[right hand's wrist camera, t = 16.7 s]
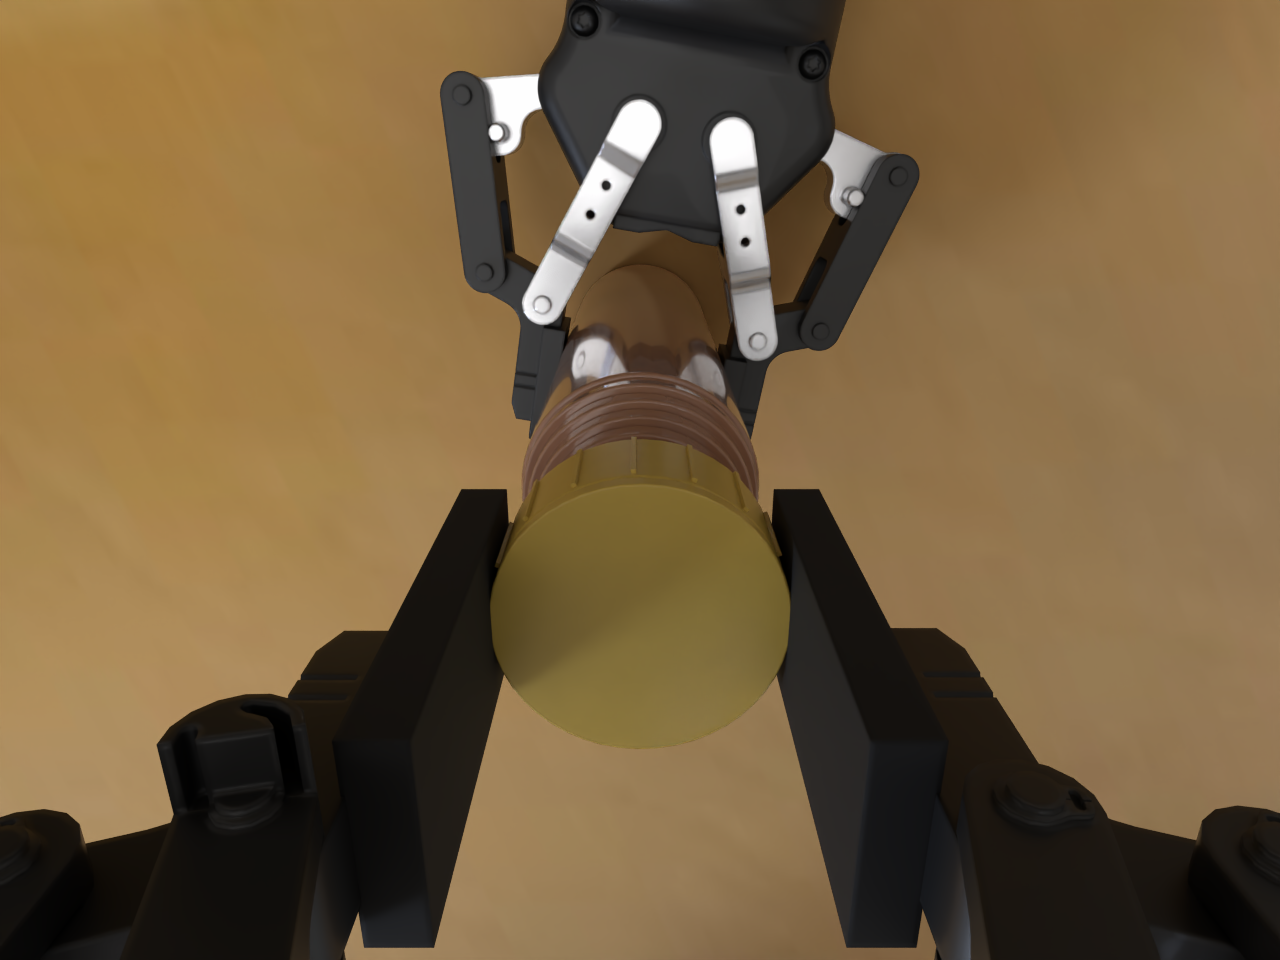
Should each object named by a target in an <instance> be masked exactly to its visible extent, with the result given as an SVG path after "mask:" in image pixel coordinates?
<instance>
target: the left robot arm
mask: <svg viewBox="0 0 1280 960" xmlns="http://www.w3.org/2000/svg"><path fill="white" fill-rule="evenodd" d="M845 2H846V0H567V3H566V12H565V19H564V24H563V28H562V31H561V34H560V37H559V39H558V41H557V43H556V45H555V47H554V49H553V50H552V52H551V53H550V55H549V56H548V57H547V59H546V60H545V62H544V64H543V65H542V68H541V70H540V73H539V74H529V75H515V76H501V77H487V78H480V77H478V76H476V75H473V74H471V73H468V72H465V71H456V72H453V73H451V74H449V75H448V76H447V77H446V78H445V79H444V81H443V83H442V85H441V89H440V97H441V105H442V112H443V120H444V127H445V135H446V142H447V149H448V157H449V164H450V172H451V179H452V186H453V194H454V201H455V209H456V216H457V223H458V231H459V238H460V246H461V253H462V261H463V268H464V275H465V278H466V281H467V282H468V284H469V285H470V286H471V287H472V288H473V289H474V290H476V291H478V292H481V293H489V294H491V295H493V296H495V297H496V298H498V299H500V300H502V301H504V302H505V303H507V304H508V305H510V306H511V307H512V308H513V309H514V310H515V311H516V313H517V315H518V317H519V320H520V325H521V330H520V338H519V347H518V355H517V363H516V372H515V379H514V388H513V396H512V405H513V409H514V413H515V416H516V419H523V420H529V421H531V423H530V431H529V439H531V437H532V434H533V431H534V429H535V426H536V423H537V421H538V418H539V415H540V413H541V410H542V407H543V404H544V402H545V399H546V396H547V394H548V391H549V388H550V386H551V383H552V380H553V378H554V375H555V372H556V369H557V367H558V364H559V361H560V359H561V356H562V353H563V351H564V348H565V345H566V342H567V340H568V335H569V328H570V321H571V318H569V317H565V311H566V304H567V301H568V300H569V298H570V296H571V294H572V292H573V291H574V289H575V287H576V285H577V283H578V281H579V280H580V278H581V276H582V274H583V272H584V270H585V269H586V267H587V265H588V263H589V262H590V260H591V258H592V256H593V254H594V253H595V251H596V249H597V247H598V245H599V243H600V242H601V240H602V238H603V236H604V234H605V232H606V231H607V229H608V227H609V225H610V224H612V225H613V228H615V229H621V230H627V231H632V232H638V233H641V232H651V231H661V230H668V231H670V232H672V233H674V234H676V235H679V236H681V237H683V238H685V239H687V240H689V241H691V242H695V243H700V244H706V245H712V246H717V252H718V259H719V265H720V270H721V274H722V279H723V284H724V291H725V297H726V304H727V310H728V317H729V323H730V330H729V334H728V339H727V344H726V345H724V344H719V348H718V354H719V357H720V360H721V362H722V365H723V368H724V370H725V373H726V376H727V378H728V381H729V384H730V387H731V389H732V392H733V395H734V397H735V400H736V403H737V405H738V408H739V411H740V413H741V416H742V419H743V421H744V424H745V427H746V429H747V432H748V435H749V438H750V440H751V436H752V432H753V427H754V423H755V418H756V413H757V410H758V405H759V401H760V396H761V392H762V387H763V383H764V379H765V374H766V370H767V368H768V366H769V364H770V362H771V361H772V360H773V359H774V358H775V357H776V356H778V355H780V354H782V353H784V352H788V351H794V350H799V349H805V348H810V349H812V350H816V351H822V350H826V349H828V348H830V347H831V346H833V345H834V344H835V343H836V341H837V340H838V338H839V336H840V334H841V332H842V330H843V328H844V326H845V324H846V322H847V320H848V318H849V316H850V314H851V313H852V311H853V309H854V307H855V305H856V303H857V301H858V299H859V297H860V295H861V293H862V291H863V289H864V287H865V285H866V283H867V281H868V279H869V277H870V275H871V273H872V271H873V269H874V268H875V266H876V264H877V262H878V260H879V258H880V256H881V254H882V252H883V250H884V248H885V246H886V244H887V242H888V240H889V238H890V236H891V234H892V232H893V230H894V228H895V226H896V225H897V223H898V221H899V219H900V217H901V215H902V213H903V211H904V209H905V207H906V205H907V203H908V201H909V199H910V197H911V195H912V193H913V191H914V189H915V187H916V185H917V183H918V180H919V168H918V165H917V163H916V162H915V160H914V159H913V158H911V157H910V156H908V155H905V154H900V153H895V152H882V151H880V150H878V149H876V148H874V147H872V146H870V145H868V144H866V143H863V142H861V141H859V140H857V139H855V138H853V137H851V136H849V135H847V134H844V133H842V132H840V131H838V130H836V129H835V117H834V113H833V109H832V106H831V101H830V95H829V75H830V69H831V64H832V59H833V55H834V50H835V46H836V42H837V37H838V33H839V28H840V24H841V19H842V15H843V10H844V6H845ZM542 110H543V112H544V114H545V116H546V118H547V120H548V122H549V124H550V126H551V128H552V130H553V132H554V134H555V136H556V138H557V140H558V142H559V144H560V146H561V149H562V151H563V153H564V155H565V157H566V159H567V161H568V163H569V165H570V167H571V169H572V171H573V173H574V175H575V177H576V179H577V181H578V183H579V185H580V189H579V190H578V192H577V194H576V196H575V198H574V200H573V202H572V204H571V206H570V207H569V209H568V211H567V213H566V215H565V217H564V219H563V221H562V223H561V225H560V226H559V228H558V230H557V232H556V234H555V236H554V238H553V240H552V243H551V245H550V247H549V249H548V251H547V252H546V254H545V256H544V258H543V260H542V262H541V264H540V266H539V267H538V266H536V265H535V264H533V263H531V262H529V261H527V260H526V259H524V258H522V257H520V256H519V255H517V254H515V247H514V239H513V230H512V221H511V212H510V203H509V194H508V186H507V177H506V168H505V159H504V155H510V154H513V153H515V152H517V151H518V150H519V149H520V148H521V146H522V145H523V142H524V139H525V128H526V124H527V122H528V120H529V118H530V117H531V116H532V115H533V114H535V113H536V112H539V111H542ZM818 163H821V164H822V166H823V167H824V169H825V171H826V174H827V185H826V188H825V191H824V202H825V205H826V207H827V208H828V209H829V211H831V212H832V213H834V214H835V216H834V218H833V220H832V222H831V224H830V226H829V228H828V231H827V233H826V235H825V237H824V239H823V241H822V243H821V245H820V247H819V249H818V251H817V253H816V255H815V257H814V259H813V261H812V264H811V266H810V268H809V270H808V272H807V274H806V276H805V278H804V280H803V282H802V284H801V286H800V288H799V290H798V292H797V294H796V297H795V299H794V301H793V302H791V303H785V304H780V305H774V306H773V299H772V292H771V283H770V281H771V269H770V261H769V254H768V246H767V239H766V231H765V224H764V215H765V214H766V213H767V212H768V211H769V210H770V209H771V208H772V207H773V206H774V205H775V204H776V203H777V202H778V201H780V200H781V199H782V198H783V197H784V196H785V195H786V194H787V193H788V192H789V191H790V190H791V189H792V188H793V187H794V186H795V185H796V184H797V183H798V182H799V181H800V180H801V179H802V178H803V177H804V176H805V175H806V174H807V173H808V172H809V171H810V170H811V169H812V168H814V167H815V166H816V165H817V164H818Z"/></svg>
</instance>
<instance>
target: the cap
mask: <svg viewBox="0 0 1280 960" xmlns="http://www.w3.org/2000/svg"><path fill="white" fill-rule="evenodd" d="M779 556H782V553H781V550H780V547H779V544H778V541H777V538H776V535H775V533H774V530H773V527H772V524H771V521H770V518H769V515H768V513H767V512H764V513H763V511H762V509H761V507H760V505H759V504H758V502H757V500H756V499H755V497H754V496H753V494H752V493H751V491H750V490H749V489H748V488H747V487H746V486H745V484H744V483H743V482H742V481H741V480H740V477H739V473H737V472H736V471H734V472H733V473H732V472H731V471H730V470H729V469H728V468H727V467H725V466H724V465H722V464H721V463H719V462H718V461H716V460H715V459H713V458H711V457H709V456H707V455H705V454H703V453H701V452H699V451H697V450H694V449H693V448H692V445H689V444H687V446H683V445H680V444H676V443H672V442H666V441H660V440H648V439H637V437H631V440H620V441H616V442H610V443H605V444H602V445H598V446H595V447H592V448H589V449H587V450H584V451H583V450H582V449H579V450H577V453H576V454H575V455H573V456H571V457H570V458H568V459H567V460H565V461H563V462H562V463H560V464H558V465H557V466H556V467H555V468H553V469H552V470H551V471H550V472H548V473H547V474H546V475H545V476H544V477H543V478H542V479H541V480H540V481H539V480H538V479H536V480H535V481H534V483H533V486H532V490H531V491H530V493H529V494H528V496H527V497H526V499H525V500H524V501H523V503H522V505H521V507H520V509H519V511H518V513H517V515H516V517H515V520H514V523H511V522H510V523H509V526H508V529H507V531H506V534H505V537H504V540H503V543H502V546H501V549H500V552H499V555H498V558H497V561H496V563H495V567H496V568H498V571H497V574H496V577H495V580H494V583H493V586H492V591H491V597H490V612H491V626H492V640H493V648H494V652H495V655H496V658H497V660H498V662H499V665H500V667H501V669H502V671H503V673H504V675H505V676H506V678H507V680H508V681H509V683H510V684H511V686H512V687H513V689H514V690H515V691H516V692H517V693H518V695H519V696H520V697H521V698H522V700H523V701H524V702H525V703H526V704H528V705H529V706H530V707H531V708H532V709H533V710H534V711H535V712H536V713H537V714H539V715H540V716H541V717H543V718H544V719H546V720H547V721H548V722H550V723H551V724H553V725H555V726H556V727H558V728H560V729H562V730H564V731H565V732H567V733H570V734H572V735H574V736H577V737H579V738H582V739H584V740H588V741H591V742H594V743H598V744H602V745H607V746H613V747H618V748H631V749H650V748H662V747H668V746H675V745H679V744H683V743H687V742H690V741H694V740H696V739H699V738H702V737H704V736H707V735H709V734H711V733H713V732H715V731H717V730H719V729H721V728H723V727H725V726H727V725H728V724H730V723H731V722H732V721H734V720H735V719H737V718H738V717H740V716H741V715H742V714H743V713H745V712H746V711H747V710H748V709H749V708H750V707H752V706H753V705H754V704H755V703H756V702H757V700H758V699H759V698H760V697H761V696H762V695H763V694H764V693H765V691H766V690H767V689H768V687H769V686H770V684H771V683H772V681H773V680H774V678H775V677H776V675H777V673H778V671H779V669H780V667H781V665H782V663H783V661H784V658H785V655H786V652H787V646H788V634H789V620H790V605H791V596H790V590H789V587H788V583H787V580H786V576H785V573H784V570H783V567H782V564H781V561H780V558H779Z"/></svg>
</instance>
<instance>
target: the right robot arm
mask: <svg viewBox="0 0 1280 960" xmlns="http://www.w3.org/2000/svg"><path fill="white" fill-rule="evenodd" d="M508 526H509V520H508V503H507V489H461V491H460V493H459V495H458V497H457V499H456V501H455V503H454V505H453V507H452V509H451V511H450V513H449V515H448V516H447V518H446V520H445V522H444V524H443V526H442V528H441V530H440V532H439V534H438V536H437V538H436V540H435V542H434V544H433V546H432V548H431V549H430V551H429V553H428V555H427V557H426V559H425V561H424V563H423V565H422V567H421V569H420V571H419V573H418V575H417V577H416V579H415V580H414V582H413V584H412V586H411V588H410V590H409V592H408V594H407V596H406V598H405V600H404V602H403V604H402V606H401V608H400V610H399V611H398V613H397V615H396V617H395V619H394V621H393V623H392V625H391V627H390V629H389V631H343V632H342V633H341V634H339V635H338V636H337V637H335V638H334V639H332V640H331V641H330V642H328V643H327V644H326V645H324V646H323V647H322V648H320V649H319V650H317V651H316V652H315V654H314V656H313V657H312V659H311V660H310V662H309V663H308V665H307V667H306V668H305V670H304V671H303V673H302V674H301V680H298V681H297V682H296V684H295V685H294V687H293V688H292V690H291V692H290V693H289V695H288V698H285V697H281V696H277V695H273V694H245V695H241V696H236V697H232V698H227V699H223V700H218V701H216V702H213V703H211V704H209V705H206V706H204V707H202V708H199V709H197V710H195V711H192V712H191V713H189V714H188V715H186V716H185V717H184V718H182V719H181V720H179V721H178V722H177V723H175V724H174V725H172V726H171V727H170V728H169V729H168V730H167V732H166V733H165V734H164V736H163V737H162V738H161V739H160V741H159V742H158V743H157V748H158V752H159V756H160V760H161V765H162V769H163V773H164V777H165V781H166V785H167V789H168V793H169V797H170V801H171V805H172V809H173V813H174V815H173V818H172V821H171V823H168V824H165V825H161V826H158V827H155V828H151V829H148V830H144V831H140V832H135V833H131V834H126V835H122V836H117V837H113V838H109V839H104V840H100V841H95V842H91V843H86V844H85V841H84V838H83V834H82V831H81V828H80V824H79V823H78V822H76V821H75V820H74V819H73V818H72V817H71V816H70V815H68V814H67V813H63V812H58V811H52V810H46V809H41V810H33V811H24V812H16V813H12V814H9V815H6V816H3V817H0V960H346V958H345V953H344V949H345V947H346V944H347V941H348V938H349V936H350V933H351V930H352V927H353V925H354V922H355V919H356V917H357V914H358V912H359V918H360V924H361V931H362V937H363V944H364V948H434V945H435V942H436V938H437V934H438V930H439V926H440V922H441V918H442V914H443V910H444V906H445V902H446V899H447V895H448V891H449V887H450V883H451V879H452V875H453V871H454V867H455V863H456V860H457V856H458V852H459V848H460V844H461V840H462V836H463V832H464V828H465V824H466V820H467V817H468V813H469V809H470V805H471V801H472V797H473V793H474V789H475V785H476V781H477V778H478V774H479V770H480V766H481V762H482V758H483V754H484V750H485V746H486V742H487V738H488V735H489V731H490V727H491V723H492V719H493V715H494V711H495V707H496V703H497V699H498V695H499V692H500V688H501V684H502V680H503V676H504V673H503V671H502V669H501V667H500V665H499V662H498V660H497V658H496V655H495V652H494V648H493V640H492V626H491V612H490V597H491V591H492V586H493V583H494V580H495V577H496V574H497V571H498V568H496V567H495V563H496V561H497V558H498V555H499V552H500V549H501V546H502V543H503V540H504V537H505V534H506V531H507V529H508ZM772 527H773V530H774V533H775V535H776V538H777V541H778V544H779V547H780V550H781V553H782V556H779V558H780V561H781V564H782V567H783V570H784V573H785V576H786V580H787V583H788V587H789V590H790V596H791V605H790V620H789V634H788V646H787V652H786V655H785V658H784V661H783V663H782V665H781V667H780V669H779V671H778V673H777V678H778V682H779V686H780V690H781V693H782V697H783V701H784V705H785V709H786V713H787V717H788V721H789V725H790V729H791V733H792V736H793V740H794V744H795V748H796V752H797V756H798V760H799V764H800V768H801V772H802V775H803V779H804V783H805V787H806V791H807V795H808V799H809V803H810V807H811V811H812V814H813V818H814V822H815V826H816V830H817V834H818V838H819V842H820V846H821V850H822V854H823V857H824V861H825V865H826V869H827V873H828V877H829V881H830V885H831V889H832V893H833V896H834V900H835V904H836V908H837V912H838V916H839V920H840V924H841V928H842V932H843V936H844V939H845V943H846V947H847V948H916V947H917V941H918V934H919V928H920V922H921V915H922V909H923V911H924V914H925V916H926V919H927V922H928V924H929V927H930V930H931V933H932V935H933V938H934V941H935V943H936V946H937V947H936V953H935V958H934V960H1280V813H1277V812H1274V811H1271V810H1268V809H1262V808H1253V807H1245V806H1233V807H1227V808H1221V809H1215V810H1214V811H1213V812H1212V813H1210V814H1209V815H1208V816H1207V817H1206V818H1205V819H1203V820H1202V823H1201V827H1200V830H1199V833H1198V837H1197V840H1192V839H1188V838H1183V837H1179V836H1174V835H1170V834H1165V833H1161V832H1157V831H1152V830H1148V829H1143V828H1139V827H1135V826H1131V825H1128V824H1124V823H1121V822H1118V821H1114V820H1111V819H1109V818H1108V817H1107V814H1106V812H1105V811H1104V809H1103V808H1102V806H1101V805H1100V803H1099V802H1098V800H1097V799H1096V797H1095V796H1094V794H1092V793H1091V792H1090V791H1089V790H1087V789H1086V788H1085V787H1084V786H1082V785H1081V784H1080V783H1079V782H1077V781H1076V780H1075V779H1074V778H1072V777H1070V776H1068V775H1066V774H1063V773H1061V772H1059V771H1057V770H1055V769H1053V768H1051V767H1049V766H1046V765H1042V764H1039V763H1038V762H1037V760H1036V759H1035V757H1034V756H1033V754H1032V752H1031V751H1030V749H1029V748H1028V746H1027V745H1026V743H1025V742H1024V740H1023V738H1022V737H1021V735H1020V734H1019V732H1018V731H1017V729H1016V728H1015V726H1014V724H1013V723H1012V721H1011V720H1010V718H1009V717H1008V715H1007V714H1006V712H1005V710H1004V709H1003V707H1002V706H1001V704H1000V703H999V701H998V700H997V698H993V692H992V690H991V689H990V687H989V686H988V684H987V682H986V681H985V679H984V678H983V677H980V672H979V670H978V668H977V667H976V665H975V664H974V662H973V661H972V659H971V658H970V656H969V654H968V653H967V651H966V650H965V648H963V647H962V646H960V645H959V644H958V643H956V642H955V641H953V640H952V639H951V638H949V637H948V636H947V635H945V634H944V633H942V632H941V631H940V630H938V629H937V628H890V626H889V624H888V622H887V620H886V618H885V616H884V614H883V612H882V610H881V608H880V606H879V605H878V603H877V601H876V599H875V597H874V595H873V593H872V591H871V589H870V587H869V585H868V583H867V581H866V579H865V577H864V575H863V574H862V572H861V570H860V568H859V566H858V564H857V562H856V560H855V558H854V556H853V554H852V552H851V550H850V548H849V546H848V544H847V543H846V541H845V539H844V537H843V535H842V533H841V531H840V529H839V527H838V525H837V523H836V521H835V519H834V517H833V515H832V513H831V512H830V510H829V508H828V506H827V504H826V502H825V500H824V498H823V496H822V494H821V492H820V490H819V489H774V496H773V512H772Z"/></svg>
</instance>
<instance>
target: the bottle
mask: <svg viewBox="0 0 1280 960" xmlns="http://www.w3.org/2000/svg"><path fill="white" fill-rule="evenodd" d="M631 437H637V439H648V440H660V441H666V442H672V443H676V444H680V445H683V446H687V444H689V445H692V448H693V449H694V450H697V451H699V452H701V453H703V454H705V455H707V456H709V457H711V458H713V459H715V460H716V461H718V462H719V463H721V464H722V465H724V466H725V467H727V468H728V469H729V470H730V471H731V472H732V473H733V472H734V471H736V472H737V473H739V477H740V480H741V481H742V482H743V483H744V484H745V486H746V487H747V488H748V489H749V490H750V491H751V493H752V494H753V496H754V497H755V499H756V500H757V502H758V492H759V471H758V465H757V459H756V455H755V452H754V449H753V446H752V443H751V440H750V438H749V435H748V432H747V429H746V427H745V424H744V421H743V419H742V416H741V413H740V411H739V408H738V405H737V403H736V400H735V397H734V395H733V392H732V389H731V387H730V384H729V381H728V378H727V376H726V373H725V370H724V368H723V365H722V362H721V360H720V357H719V354H718V352H717V349H716V346H715V344H714V341H713V338H712V336H711V333H710V330H709V327H708V325H707V322H706V319H705V317H704V314H703V311H702V309H701V306H700V304H699V302H698V299H697V297H696V296H695V294H694V293H693V291H692V290H691V289H690V287H689V286H688V285H687V284H686V283H685V282H684V281H683V280H682V279H681V278H679V277H678V276H676V275H675V274H673V273H672V272H670V271H668V270H666V269H663V268H660V267H657V266H652V265H643V264H637V265H629V266H624V267H621V268H618V269H615V270H613V271H611V272H609V273H607V274H606V275H604V276H603V277H601V278H600V279H599V280H598V281H597V282H596V283H594V284H593V286H592V287H591V288H590V289H589V290H588V292H587V293H586V295H585V297H584V298H583V300H582V303H581V305H580V307H579V310H578V313H577V315H576V318H575V321H574V324H573V326H572V329H571V332H570V334H569V337H568V340H567V342H566V345H565V348H564V351H563V353H562V356H561V359H560V361H559V364H558V367H557V369H556V372H555V375H554V378H553V380H552V383H551V386H550V388H549V391H548V394H547V396H546V399H545V402H544V404H543V407H542V410H541V413H540V415H539V418H538V421H537V423H536V426H535V429H534V431H533V434H532V437H531V440H530V442H529V445H528V448H527V452H526V455H525V458H524V463H523V470H522V499H523V501H524V500H525V499H526V497H527V496H528V494H529V493H530V491H531V490H532V486H533V483H534V481H535V480H536V479H538V480H539V481H540V480H541V479H542V478H543V477H544V476H545V475H546V474H547V473H548V472H550V471H551V470H552V469H553V468H555V467H556V466H557V465H558V464H560V463H562V462H563V461H565V460H567V459H568V458H570V457H571V456H573V455H575V454H576V453H577V450H579V449H582V450H583V451H584V450H587V449H589V448H592V447H595V446H598V445H602V444H605V443H610V442H616V441H620V440H631Z"/></svg>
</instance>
